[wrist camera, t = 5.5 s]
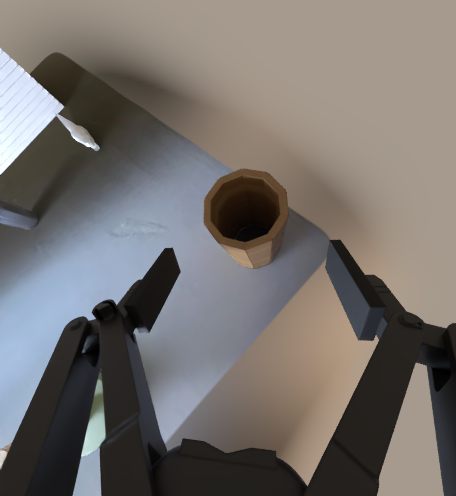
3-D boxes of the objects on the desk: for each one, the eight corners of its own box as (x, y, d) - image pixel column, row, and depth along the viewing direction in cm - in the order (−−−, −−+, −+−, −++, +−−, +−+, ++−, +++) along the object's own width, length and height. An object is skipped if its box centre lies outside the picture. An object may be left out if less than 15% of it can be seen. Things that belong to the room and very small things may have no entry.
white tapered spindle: (106, 146, 36) (97, 138, 34) (96, 157, 35) (87, 150, 34) (63, 112, 40) (54, 103, 38) (54, 121, 40) (44, 113, 38)
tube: (288, 236, 26) (305, 190, 14) (260, 278, 25) (255, 267, 14) (247, 212, 28) (234, 155, 16) (220, 252, 27) (186, 222, 16)
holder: (132, 403, 25) (61, 462, 16) (88, 467, 24) (-10, 564, 16) (89, 355, 27) (7, 384, 19) (48, 412, 27) (-56, 469, 18)
